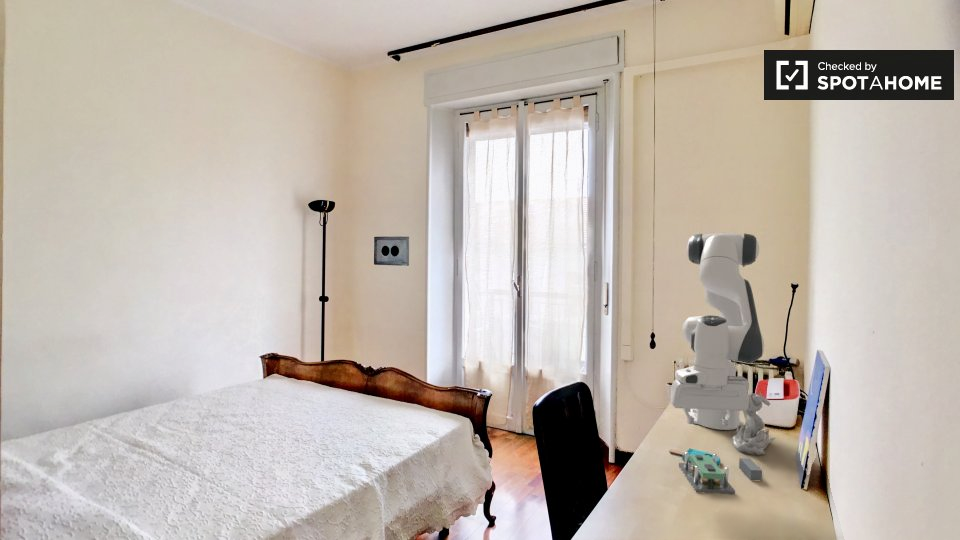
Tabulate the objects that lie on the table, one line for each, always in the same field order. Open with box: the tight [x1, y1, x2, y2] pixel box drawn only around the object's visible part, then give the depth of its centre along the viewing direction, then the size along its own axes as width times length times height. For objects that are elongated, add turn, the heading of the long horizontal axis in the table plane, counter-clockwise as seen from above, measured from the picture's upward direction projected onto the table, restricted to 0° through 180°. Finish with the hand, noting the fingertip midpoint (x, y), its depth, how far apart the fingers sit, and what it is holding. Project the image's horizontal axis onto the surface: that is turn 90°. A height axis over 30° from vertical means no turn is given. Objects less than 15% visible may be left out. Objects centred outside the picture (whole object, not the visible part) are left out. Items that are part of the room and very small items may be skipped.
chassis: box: [678, 451, 736, 495], centre depth 146 cm, size 16×10×6 cm, turn 175°
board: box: [689, 454, 724, 479], centre depth 146 cm, size 12×6×2 cm, turn 175°
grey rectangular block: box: [738, 457, 763, 482], centre depth 150 cm, size 8×3×3 cm, turn 175°
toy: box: [668, 448, 721, 467], centre depth 160 cm, size 7×2×15 cm
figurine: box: [732, 390, 776, 456], centre depth 170 cm, size 18×13×18 cm
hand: (707, 424), depth 146 cm, fingers open, 8 cm apart
